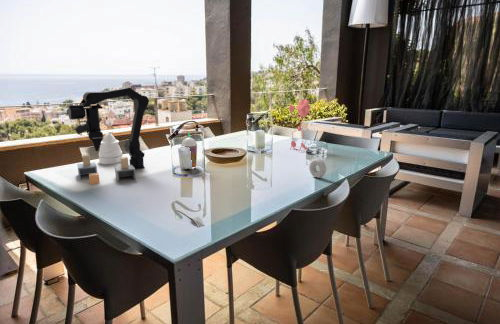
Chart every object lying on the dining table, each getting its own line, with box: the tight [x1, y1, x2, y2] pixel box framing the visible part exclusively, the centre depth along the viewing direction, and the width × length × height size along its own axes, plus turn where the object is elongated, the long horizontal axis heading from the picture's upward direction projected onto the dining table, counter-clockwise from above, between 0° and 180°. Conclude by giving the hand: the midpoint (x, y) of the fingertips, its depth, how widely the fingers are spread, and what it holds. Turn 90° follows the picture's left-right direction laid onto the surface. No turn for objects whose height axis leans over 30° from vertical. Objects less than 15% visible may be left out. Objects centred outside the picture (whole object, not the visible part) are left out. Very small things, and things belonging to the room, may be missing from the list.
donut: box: [308, 157, 327, 179], centre depth 171 cm, size 10×4×10 cm, turn 38°
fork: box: [174, 207, 205, 228], centre depth 124 cm, size 3×21×3 cm, turn 36°
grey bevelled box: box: [114, 156, 137, 182], centre depth 166 cm, size 8×8×10 cm
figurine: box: [288, 98, 316, 152], centre depth 232 cm, size 15×26×35 cm, turn 34°
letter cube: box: [88, 172, 100, 185], centre depth 161 cm, size 4×4×4 cm
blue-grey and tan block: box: [77, 154, 98, 180], centre depth 170 cm, size 8×8×10 cm
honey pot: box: [98, 130, 123, 165], centre depth 198 cm, size 13×13×18 cm
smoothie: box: [181, 132, 198, 168], centre depth 183 cm, size 8×8×20 cm
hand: (96, 149), depth 171 cm, fingers open, 9 cm apart
